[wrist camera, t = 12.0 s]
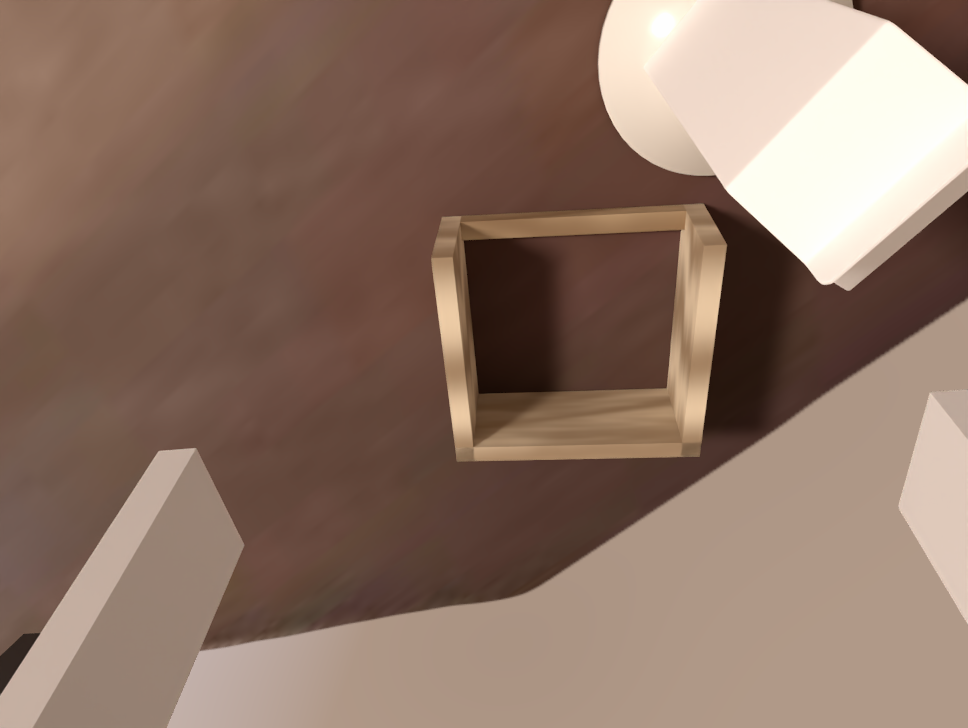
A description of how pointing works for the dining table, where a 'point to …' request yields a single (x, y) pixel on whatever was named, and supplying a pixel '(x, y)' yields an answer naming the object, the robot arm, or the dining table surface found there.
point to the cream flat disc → (646, 82)
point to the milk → (819, 124)
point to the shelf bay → (584, 414)
